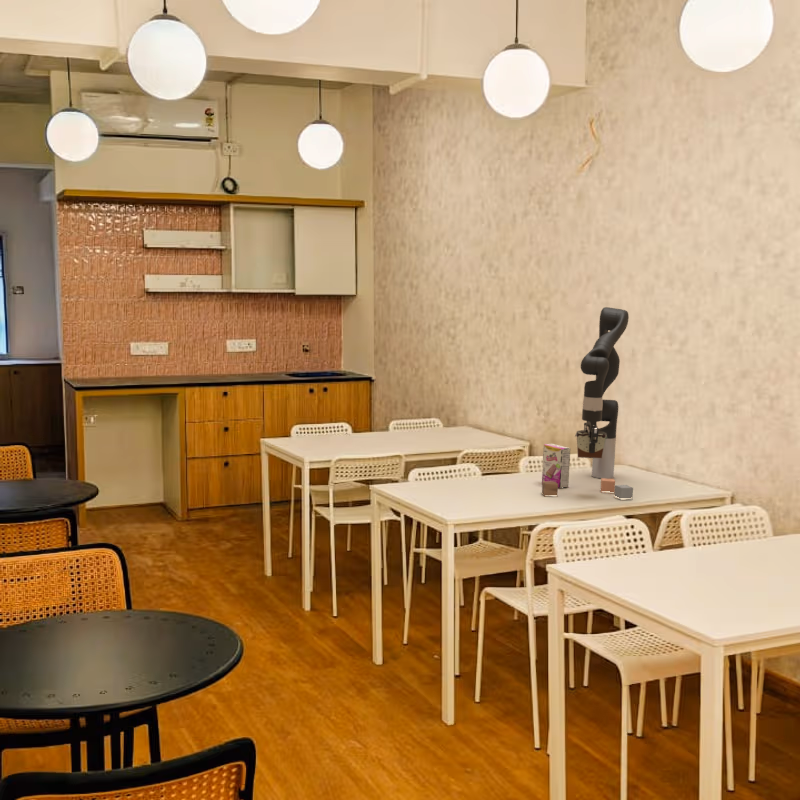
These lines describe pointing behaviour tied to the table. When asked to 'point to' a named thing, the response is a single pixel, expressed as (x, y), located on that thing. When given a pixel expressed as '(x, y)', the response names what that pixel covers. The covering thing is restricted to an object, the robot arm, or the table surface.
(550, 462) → the candy bar box
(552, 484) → the walnut block
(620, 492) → the slate grey block
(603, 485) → the terracotta block
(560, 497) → the table surface
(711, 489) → the table surface
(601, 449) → the food container
